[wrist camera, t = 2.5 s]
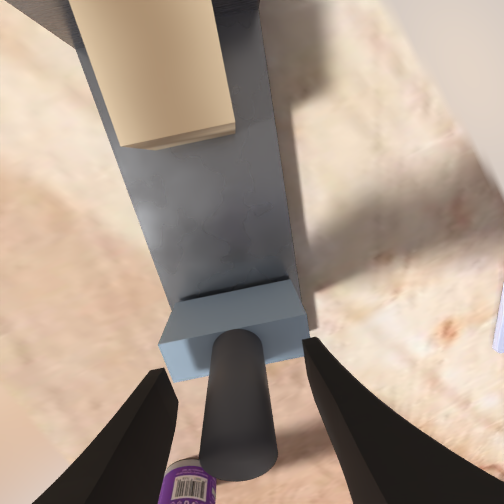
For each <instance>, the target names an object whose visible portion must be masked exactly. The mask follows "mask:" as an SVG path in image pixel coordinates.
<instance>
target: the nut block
mask: <svg viewBox="0 0 504 504" xmlns="http://www.w3.org/2000/svg"><path fill="white" fill-rule="evenodd" d="M69 3H70V5H71V8H72V11H73V14H74V17H75V20H76V22H77V25H78V28H79V31H80V34H81V36H82V39H83V42H84V45H85V48H86V51H87V53H88V56H89V59H90V62H91V65H92V67H93V70H94V73H95V76H96V79H97V81H98V84H99V87H100V90H101V93H102V96H103V98H104V101H105V104H106V107H107V110H108V112H109V115H110V118H111V121H112V124H113V126H114V129H115V132H116V135H117V138H118V141H119V143H120V146H121V147H129V148H138V149H147V150H160V149H165V148H170V147H174V146H179V145H184V144H188V143H193V142H198V141H202V140H207V139H212V138H216V137H221V136H226V135H231V134H235V118H234V113H233V108H232V103H231V98H230V93H229V88H228V83H227V78H226V73H225V68H224V63H223V57H222V52H221V47H220V42H219V37H218V32H217V27H216V22H215V17H214V12H213V7H212V2H211V0H69Z"/></svg>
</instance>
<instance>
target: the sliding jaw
mask: <svg viewBox="0 0 504 504" xmlns="http://www.w3.org/2000/svg"><path fill="white" fill-rule="evenodd" d="M307 338H310V334H309V327H308V320H307V314H306V312H305V309H304V307H303V305H302V303H301V301H300V298H299V296H298V294H297V292H296V290H295V288H294V285H293V283H292V281H291V279H289V280H284V281H279V282H274V283H269V284H265V285H260V286H255V287H250V288H245V289H240V290H235V291H231V292H226V293H221V294H216V295H211V296H206V297H202V298H197V299H192V300H187V301H182V302H177V303H175V305H174V307H173V310H172V312H171V315H170V317H169V319H168V322H167V324H166V326H165V329H164V331H163V334H162V336H161V338H160V341H159V343H158V346H159V349H160V351H161V353H162V356H163V358H164V361H165V363H166V365H167V368H168V370H169V373H170V375H171V377H172V380H173V382H174V383H175V382H180V381H185V380H190V379H195V378H200V377H205V376H209V380H208V388H207V396H206V404H205V412H204V420H203V428H202V436H201V445H200V453H199V462H200V465H201V467H202V468H203V469H204V471H205V472H207V473H208V474H209V475H211V476H213V477H215V478H217V479H220V480H225V481H246V480H250V479H254V478H257V477H259V476H261V475H263V474H264V473H266V472H267V471H269V470H270V469H271V468H272V467H273V465H274V464H275V462H276V460H277V457H278V450H277V443H276V436H275V429H274V422H273V415H272V409H271V402H270V395H269V388H268V381H267V374H266V367H265V364H269V363H274V362H279V361H283V360H288V359H293V358H298V357H303V356H304V351H303V345H302V339H307Z"/></svg>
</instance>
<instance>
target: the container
mask: <svg viewBox="0 0 504 504" xmlns="http://www.w3.org/2000/svg"><path fill="white" fill-rule="evenodd" d="M216 480H217V478H215V477H213V476H211V475H209V474H208V473H207V472H205V471H204V469H203V468H202V467H201V465H200V462H199V460H197V459H186V460H181V461H178V462H176V463H174V464H172V465H171V466H169V467H168V468H167V470H166V471H165V475H164V479H163V483H162V487H161V492H160V496H159V500H158V504H215V499H216Z"/></svg>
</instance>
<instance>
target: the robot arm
mask: <svg viewBox="0 0 504 504" xmlns="http://www.w3.org/2000/svg"><path fill="white" fill-rule="evenodd" d="M302 345H303V351H304V358H305V364H306V370H307V376H308V380H309V383H310V387H311V390H312V393H313V397H314V400H315V403H316V405H317V408H318V410H319V413H320V415H321V418H322V420H323V423H324V425H325V427H326V430H327V432H328V435H329V437H330V440H331V442H332V445H333V447H334V450H335V452H336V455H337V457H338V460H339V462H340V465H341V468H342V470H343V473H344V476H345V479H346V482H347V485H348V488H349V491H350V495H351V498H352V501H353V504H504V482H503V481H501V480H499V479H497V478H495V477H494V476H492V475H490V474H488V473H487V472H485V471H483V470H482V469H480V468H478V467H477V466H475V465H473V464H472V463H470V462H468V461H467V460H465V459H464V458H462V457H460V456H459V455H457V454H455V453H454V452H452V451H451V450H449V449H448V448H446V447H445V446H443V445H442V444H440V443H439V442H437V441H436V440H434V439H433V438H431V437H430V436H428V435H427V434H425V433H424V432H422V431H421V430H419V429H418V428H416V427H415V426H414V425H412V424H411V423H409V422H408V421H407V420H405V419H404V418H403V417H401V416H400V415H399V414H397V413H396V412H395V411H393V410H392V409H391V408H390V407H388V406H387V405H386V404H385V403H383V402H382V401H381V400H380V399H378V398H377V397H376V396H375V395H374V394H373V393H371V392H370V391H369V390H368V389H367V388H366V387H365V386H363V385H362V384H361V383H360V382H359V381H358V380H357V379H356V378H355V377H354V376H353V375H352V374H351V373H350V372H349V371H348V370H347V369H346V368H345V367H344V366H342V365H341V363H340V362H339V361H338V360H337V359H336V358H335V357H334V356H333V355H332V354H331V353H330V352H329V351H328V349H327V348H326V347H325V346H324V345H323V343H322V342H321V341H320V340H319V338H317V337H312V338H307V339H302ZM492 347H493V349H494V350H495V351H496V352H498V353H504V284H503V290H502V295H501V301H500V307H499V312H498V318H497V323H496V329H495V334H494V340H493V345H492ZM177 411H178V399H177V397H176V394H175V392H174V390H173V387H172V385H171V383H170V380H169V378H168V375H167V373H166V371H165V368H160V369H155V370H150V371H149V373H148V374H147V375H146V376H145V378H144V379H143V380H142V381H141V383H140V384H139V385H138V386H137V388H136V389H135V390H134V392H133V393H132V394H131V395H130V397H129V398H128V399H127V400H126V402H125V403H124V404H123V405H122V407H121V408H120V409H119V410H118V412H117V413H116V414H115V415H114V417H113V418H112V419H111V420H110V421H109V423H108V424H107V425H106V426H105V427H104V428H103V430H102V431H101V432H100V433H99V434H98V435H97V437H96V438H95V439H94V440H93V441H92V442H91V444H90V445H89V446H88V447H87V448H86V449H85V450H84V451H83V453H82V454H81V455H80V456H79V457H78V458H77V459H76V460H75V461H74V462H73V463H72V464H71V465H70V466H69V468H68V469H67V470H66V471H65V472H64V473H63V474H62V475H61V476H60V477H59V478H58V479H57V480H56V481H55V482H54V483H53V484H52V485H51V486H50V487H49V488H48V489H47V490H46V491H45V492H44V493H43V494H42V495H41V496H39V497H38V498H37V499H36V500H35V501H34V502H33V503H32V504H158V500H159V495H160V491H161V487H162V483H163V479H164V475H165V470H166V466H167V462H168V458H169V454H170V449H171V445H172V441H173V437H174V432H175V427H176V420H177Z"/></svg>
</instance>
